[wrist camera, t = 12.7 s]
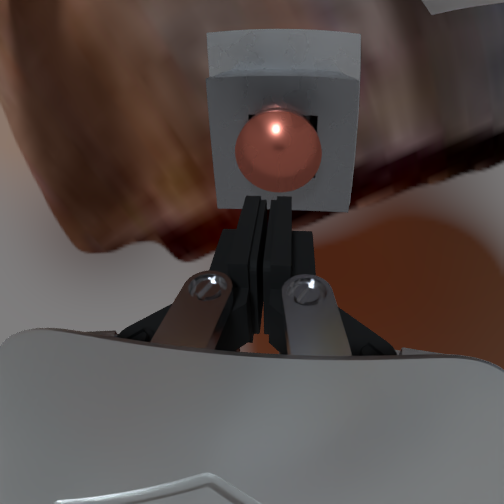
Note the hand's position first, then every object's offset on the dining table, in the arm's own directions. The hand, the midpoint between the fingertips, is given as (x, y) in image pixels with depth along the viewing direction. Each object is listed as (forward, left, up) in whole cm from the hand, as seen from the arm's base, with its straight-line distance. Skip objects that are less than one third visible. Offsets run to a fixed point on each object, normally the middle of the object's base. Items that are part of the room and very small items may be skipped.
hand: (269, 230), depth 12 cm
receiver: (0, 0, -21) cm, 21 cm away
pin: (0, 0, -19) cm, 19 cm away
